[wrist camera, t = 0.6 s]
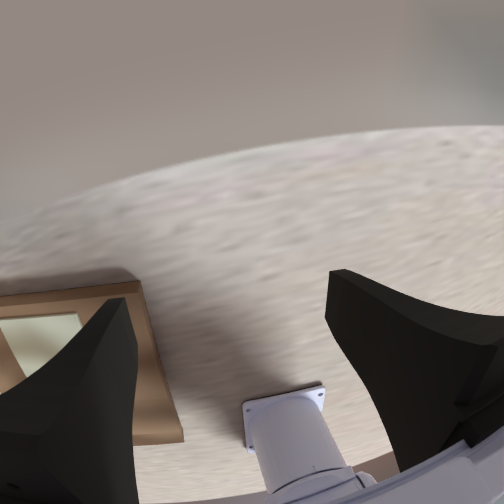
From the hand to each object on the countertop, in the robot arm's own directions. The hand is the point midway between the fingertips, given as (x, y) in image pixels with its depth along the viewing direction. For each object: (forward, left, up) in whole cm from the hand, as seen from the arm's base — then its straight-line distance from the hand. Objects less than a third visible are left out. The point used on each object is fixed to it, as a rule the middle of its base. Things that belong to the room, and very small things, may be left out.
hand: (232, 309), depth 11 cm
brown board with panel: (-12, +13, -10) cm, 20 cm away
